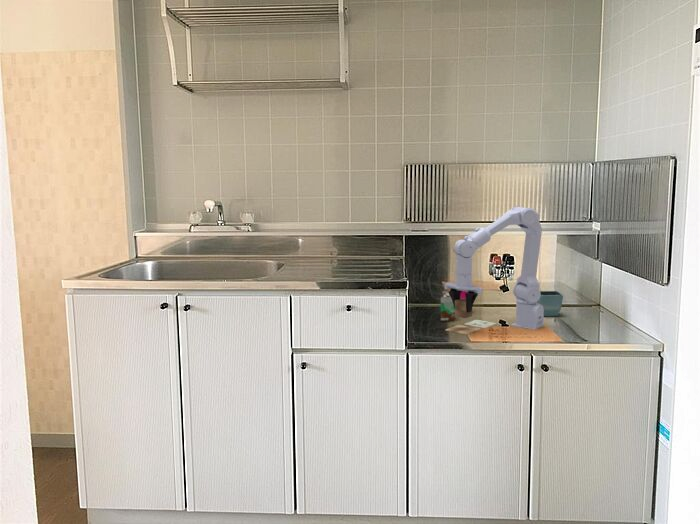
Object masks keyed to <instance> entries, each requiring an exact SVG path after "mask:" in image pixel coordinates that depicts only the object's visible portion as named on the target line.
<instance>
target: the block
mask: <svg viewBox="0 0 700 524" xmlns="http://www.w3.org/2000/svg"><path fill="white" fill-rule="evenodd" d="M455 317H456V318H462V319H468V318H471V317H473V310H472V311H471V312H467V310H466V299H464V298H461V299H457V300H455Z"/></svg>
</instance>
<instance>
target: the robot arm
mask: <svg viewBox="0 0 700 524" xmlns="http://www.w3.org/2000/svg"><path fill="white" fill-rule="evenodd" d="M539 219H540V214H539V213H538V212H537V210H535V209H534V208H532V207H521V206H514V207H512V208H511V209H509V210H507V211H506V212H505V213H503V215H501V216H500V217H499V218H497V219H495V220H494V221H493V222H492V223H490V224H489V225H487V227H476V228H475V229H474V231H473V232H472V233H470V234H469V235H465V236H464V237H463V239H459V240H456V242H455V244H453V245H454V246H453V247H452V251H453V252H454V254H455V274H454V275H455V276H454V277H455V279H454V281H455V283H452V282H447V283H446V282H445V283H444V290H449V291H448V292H449V295H450V297H451V299H452V301H453V305H454V309H455V300H457V299H460V296H461V291H466V292H468V293H465V297H466V310H467V312H471V311H472V312H473V307H474V306H473V305H474V303H475V302H476V301H475V300H476V299H477V297H478V295H480V294H483V287H480V286H477V285H473V284H472V281H473V280H472V278H473V276H472V275H473V274H472V272H473V270H472V269H473V256H474V255H475V253H476V251H477V250H478V249H480V248H481V247H483V246H484V245H486V244H487V243H489V242H490V241H491V239H492V236H493V235H495V234H497V233H498V232H500V231H501V230H504V229H505V228H506V227H508V226H515V225H516V226H518V227H520V228H521V229H522V231H523V232H524V233H525V238H524V246H523V248H524V249H523V252H522V253H523V255H522V256H523V257H522V263H521V270H520V275H519V276H518V278H517V279H516V283H515V285H514V287H513V290H512V291H513V295H514V297H515V300H516V305H515V306H516V307H515V309H516V310H515V311H516V312H515V322H514V323H511V324H510V325H511V327H516V328H517V327H518V328H524V329H529V330H537V329H540V328H542V327H544V326H545V324H544V318H545V316H544V308H543V305H541V304H538V303H537V301H538V300H539V299H540V296H541V293H540V291H541V290H540V282H539V280H538V278H537V274H538V273H537V272H538V264H539V256H540V249H541V241H542V240H541V239H542V232H543V228H542V225H541V223H540V220H539Z"/></svg>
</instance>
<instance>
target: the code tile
mask: <svg viewBox="0 0 700 524" xmlns="http://www.w3.org/2000/svg"><path fill="white" fill-rule="evenodd" d="M493 325H497V323H496V322H491V321H486V320H480V319H473V320H470V321H469V322H465V323H464V326H470V327H475V328H480V329H482V328H483V329H486V328H489V327H491V326H493Z"/></svg>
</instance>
